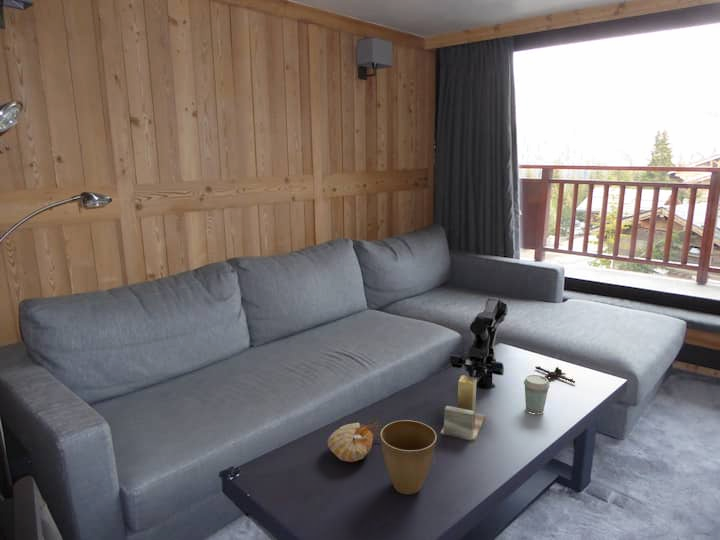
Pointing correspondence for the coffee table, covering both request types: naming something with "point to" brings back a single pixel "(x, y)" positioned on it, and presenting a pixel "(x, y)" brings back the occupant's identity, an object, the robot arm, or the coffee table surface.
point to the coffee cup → (535, 393)
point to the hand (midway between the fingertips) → (471, 387)
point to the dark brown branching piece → (554, 374)
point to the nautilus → (352, 441)
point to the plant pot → (408, 453)
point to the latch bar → (467, 393)
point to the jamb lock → (462, 423)
